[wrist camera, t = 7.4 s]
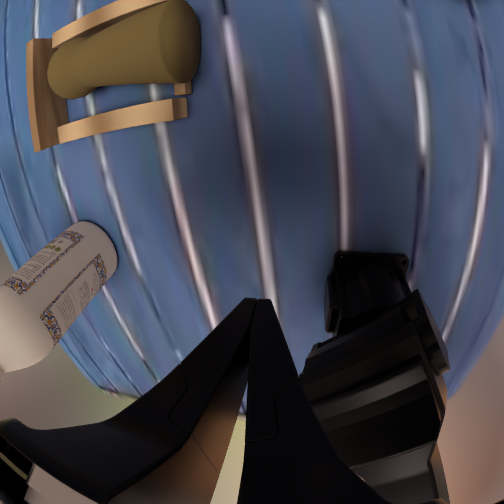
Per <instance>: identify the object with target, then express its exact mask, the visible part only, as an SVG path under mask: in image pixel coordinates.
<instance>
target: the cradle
mask: <svg viewBox="0 0 504 504" xmlns="http://www.w3.org/2000/svg"><path fill="white" fill-rule="evenodd" d="M167 1H170V0H118V1H116V2H113V3H111V4H109V5H106V6H104V7H102V8H100V9H98V10H96V11H93V12H91V13H89V14H87V15H85V16H83V17H81V18H80V19H78V20H76V21H74V22H72V23H70V24H69V25H67V26H65V27H63V28H62V29H60V30H58V31H56V32H55V33H53V36H52V39H32V40H31V41H29V42H28V43H27V50H26V75H27V96H28V108H29V118H30V126H31V133H32V140H33V146H34V152H38V151H41V150H44V149H46V148H49V147H51V146H54V145H57V144H59V143H60V144H61V143H65V142H68V141H72V140H75V139H79V138H83V137H87V136H91V135H95V134H100V133H104V132H108V131H113V130H118V129H123V128H128V127H134V126H139V125H145V124H151V123H158V122H165V121H173V120H177V119H181V118H186V117H188V114H187V101H186V98H174V99H167V100H161V101H155V102H150V103H145V104H140V105H135V106H130V107H126V108H122V109H118V110H113V111H110V112H106V113H102V114H98V115H95V116H91V117H88V118H84V119H81V120H78V121H75V122H72V123H68V115H67V105H66V98H62V97H60V96H59V95H57V94H56V93H54V91H53V90H52V89H51V87H50V85H49V82H48V77H47V70H48V66H49V62H50V60H51V58H52V56H53V54H54V53H55V52H56V51H57V50H58V49H59V48H60V47H61V46H62V45H63V44H64V43H66V42H68V41H71V40H73V39H75V38H81V37H88V38H90V37H92V36H93V35H95V34H97V33H99V32H100V31H102V30H104V29H106V28H108V27H110V26H112V25H114V24H116V23H118V22H120V21H122V20H124V19H126V18H128V17H130V16H132V15H135V14H137V13H139V12H142V11H144V10H146V9H149V8H151V7H154V6H156V5H159V4H161V3H164V2H167ZM174 91H175V95H186V94H192V88H191V80H190V81H189V82H188V83H182V84H175V83H174Z"/></svg>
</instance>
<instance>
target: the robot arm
mask: <svg viewBox="0 0 504 504" xmlns="http://www.w3.org/2000/svg"><path fill="white" fill-rule="evenodd" d="M339 257H343V258H342V259H338V258H339ZM402 260H405V261H404V262H401V261H402ZM408 264H409V259H408V257H407V256H406V255H400V254H382V253H364V252H346V251H339V252H337V253H336V254H335V256H334V263H333V270H332V274H329V275H328V276H327V280H326V288H325V294H324V312H325V330H326V331H327V332H328V333H332V334H333V338H331V339H328V340H326V341H324V342H322V343H321V342H319V343H317V344H315V345H313V348H312V350H311V352H310V353H309V355H308V357H307V358H306V361H305V367H304V369H303V372H302V373H300V375H299V376H298V373H297V370H296V367H295V365H294V362H293V359H292V356H291V354H290V351H289V348H288V345H287V343H286V340H285V337H284V334H283V332H282V329H281V326H280V323H279V321H278V318H277V315H276V312H275V310H274V307H273V304H272V301H271V300H270V299H261V298H260V299H258V300H257V299H256V298H244V299H243V300H242V301H241V302H240V303H239V304H238V305H237V306H236V307H235V308H234V309H233V310H232V311H231V312H230V313H229V314H228V315H227V316H226V317H225V318H224V319H223V320H222V321H221V322H220V324H219V325H218V326H217V327H216V328H215V329H214V330H213V331H212V332H211V333H210V334H209V335H208V336H207V337H206V338H205V339H204V340H203V341H202V342H201V343H200V344H199V345H198V346H197V347H196V348H195V349H194V350H193V351H192V352H191V353H190V354H189V355H188V356H187V357H186V358H185V359H184V360H183V361H182V362H181V364H178V365H177V366H176V367H175V368H174V369H173V370H172V371H171V372H170V373H169V374H168V375H167V376H166V377H165V378H164V379H163V380H162V381H160V382H159V383H158V384H157V385H155V386H154V387H153V388H152V389H151V390H149V391H148V392H147V393H145V394H144V395H143V396H141V397H140V398H139V399H137V400H136V401H135V402H133V403H132V404H131V405H129V406H128V407H127V408H125V409H124V410H122V411H121V412H120V413H118V414H117V415H115V416H114V417H112V418H110V419H107V420H105V421H102V422H99V423H94V424H88V425H81V426H74V427H67V428H59V429H50V430H38V429H32V428H29V427H27V426H26V425H24V424H23V423H21V422H20V421H19V420H18V419H16V418H10V419H5V420H1V421H0V504H210V502H211V499H212V496H213V493H214V490H215V487H216V484H217V480H218V478H219V474H220V471H221V468H222V465H223V462H224V459H225V456H226V452H227V449H228V446H229V443H230V439H231V436H232V433H233V429H234V426H235V423H236V420H237V416H238V413H239V409H240V406H241V403H242V399H243V396H244V392H245V389H246V385H247V382H248V389H247V410H246V431H245V450H244V463H243V470H242V476H241V483H240V489H239V495H238V501H237V504H450V500H449V494H448V489H447V484H446V479H445V474H444V470H443V465H442V461H441V457H440V453H439V449H438V445H437V439H438V436H439V432H440V429H441V426H442V423H443V419H444V415H445V408H446V400H447V387H446V384H445V381H444V378H443V375H442V373H444V372H446V371H448V370H449V369H450V365H449V359H448V354H447V349H446V346H445V344H444V341H443V339H442V336H441V334H440V331H439V329H438V326H437V324H436V322H435V320H434V318H433V316H432V314H431V312H430V310H429V308H428V307H427V305H426V303H425V301H424V299H423V297H422V295H421V294H420V292H419V290H418V289H416V290H415V291H413V292H411V290H410V288H409V285H408V283H407V281H406V278H405V275H406V271H407V268H408ZM361 478H362V479H363V480H364V481H363V480H362V479H361ZM494 504H504V499H502V500H500V501H498V502H496V503H494Z"/></svg>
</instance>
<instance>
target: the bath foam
mask: <svg viewBox="0 0 504 504" xmlns="http://www.w3.org/2000/svg"><path fill="white" fill-rule="evenodd" d="M116 267H117V254H116V251H115V248H114V245H113V243H112V242H111V240H110V238H109V237H108V236H107V234H106V233H105V232H104V231H103V230H102V229H101V228H99V227H98V226H96V225H95V224H93V223H90V222H86V221H81V222H77V223H75V224H73V225H72V226H71V227H69V228H68V229H67V230H65V231H64V232H63V233H61V234H60V235H59V236H57V237H56V238H55V239H54V240H52V241H51V242H50V243H49V244H47V245H46V246H45V247H44V248H43V249H41V250H40V251H39V252H38V253H37V254H35V255H34V256H33V257H32V258H31V259H30V260H29V261H27V262H26V263H25V264H24V265H23V266H22V267H21V268H20V269H18V270H17V271H16V272H15V273H14V274H13V275H12V276H11V277H10V278H9V279H8V280H7V281H6V282H5V283H4V284H2V285H1V287H0V380H1V379H2V377H3V376H4V373H6V372H10V371H14V370H18V369H22V368H25V367H29V366H31V365H34V364H36V363H37V362H39V361H41V360H42V359H43V358H44V357H45V356H47V355H48V353H49V352H50V351H51V350H52V349H53V348H54V347H55V346H56V344H57V343H58V342H59V340H60V339H61V338H62V336H63V335H64V334H65V332H66V331H67V330H68V328H69V327H70V326H71V325H72V323H73V322H74V321H75V319H76V318H77V317H78V316H79V314H80V313H81V312H82V311H83V309H84V308H85V307H86V306H87V305H88V303H89V302H90V301H91V300H92V299H93V297H94V296H95V295H96V294H97V293H98V291H99V290H100V289H101V288H102V287H103V286H104V284H105V283H106V282H107V280H108V279H109V278H110V277H111V276H112V275H113V273H114V272H115V270H116Z"/></svg>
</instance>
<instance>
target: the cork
mask: <svg viewBox="0 0 504 504" xmlns="http://www.w3.org/2000/svg"><path fill="white" fill-rule="evenodd" d="M200 55H201V34H200V27H199V23H198V20H197V16H196V14H195V12H194V10H193V9H192V7H191V6H190V5H189V4H188V3H187V2H186V1H184V0H170V1H167V2H164V3H161V4H159V5H156V6H154V7H151V8H149V9H146V10H144V11H142V12H139V13H137V14H135V15H132V16H130V17H128V18H126V19H124V20H122V21H120V22H118V23H116V24H114V25H112V26H110V27H108V28H106V29H104V30H102V31H100V32H99V33H97V34H95V35H93V36H92V37H90V38H88V37H81V38H75V39H73V40H71V41H68V42H66V43H64V44H63V45H62V46H61V47H60V48H59V49H58V50H57V51H56V52H55V53H54V54H53V56H52V58H51V60H50V62H49V66H48V70H47V77H48V82H49V85H50V87H51V89H52V90H53V91H54V93H56V94H57V95H59V96H60V97H62V98H66V99H77V98H81V97H84V96H86V95H88V94H89V93H91V92H92V91H94V90H95V89H96V88H97V87H100V86H111V85H125V84H151V83H175V84H182V83H188V82H189V81H190V80H191V79H192V78H193V77H194V75H195V73H196V71H197V69H198V65H199V62H200Z"/></svg>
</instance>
